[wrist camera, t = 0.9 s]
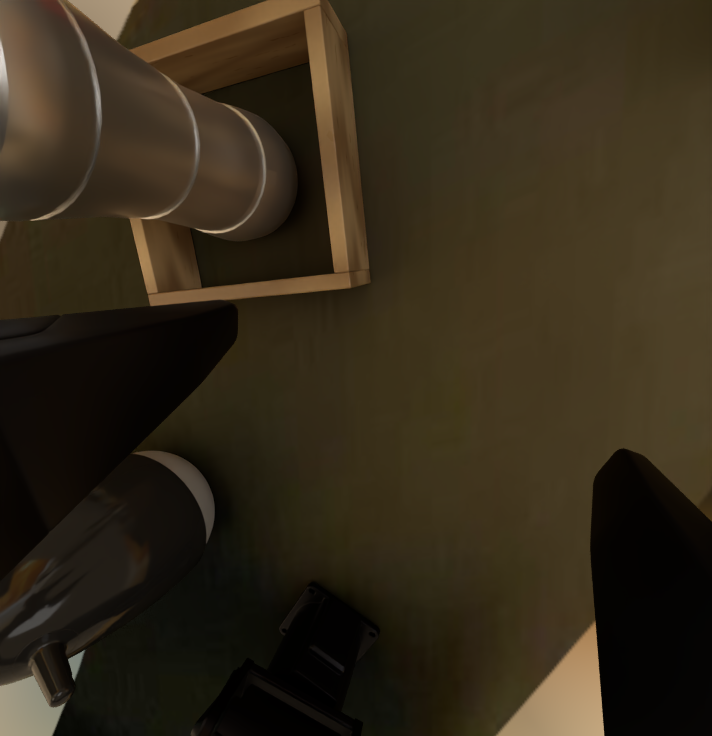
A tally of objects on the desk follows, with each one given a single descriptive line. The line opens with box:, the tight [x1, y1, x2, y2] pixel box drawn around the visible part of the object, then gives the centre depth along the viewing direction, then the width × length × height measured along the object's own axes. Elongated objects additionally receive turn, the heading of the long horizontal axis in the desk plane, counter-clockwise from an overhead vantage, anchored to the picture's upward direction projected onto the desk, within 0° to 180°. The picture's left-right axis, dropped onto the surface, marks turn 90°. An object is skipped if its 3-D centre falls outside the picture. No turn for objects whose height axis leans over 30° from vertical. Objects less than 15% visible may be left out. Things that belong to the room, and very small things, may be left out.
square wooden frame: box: [129, 0, 371, 306], centre depth 21 cm, size 13×13×4 cm
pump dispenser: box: [0, 451, 215, 707], centre depth 25 cm, size 10×10×15 cm
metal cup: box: [0, 0, 298, 241], centre depth 14 cm, size 6×7×20 cm
